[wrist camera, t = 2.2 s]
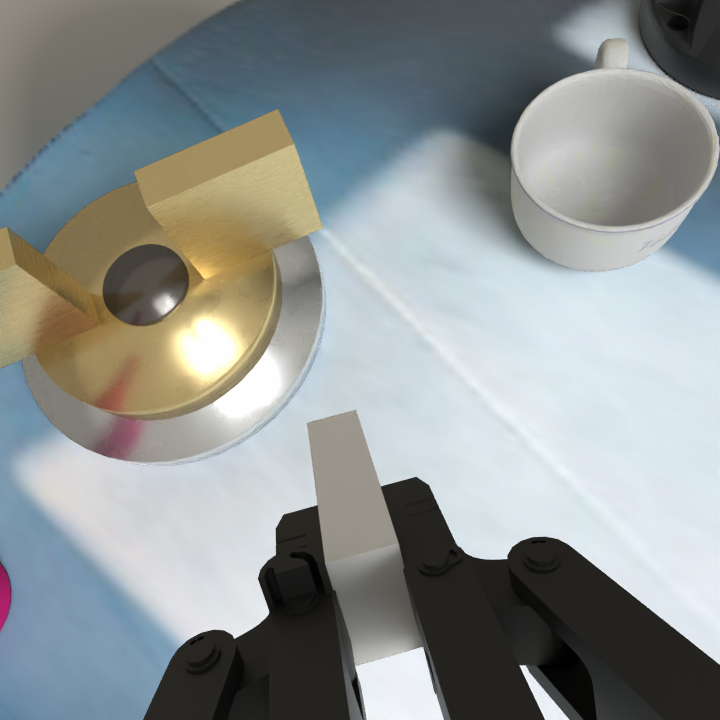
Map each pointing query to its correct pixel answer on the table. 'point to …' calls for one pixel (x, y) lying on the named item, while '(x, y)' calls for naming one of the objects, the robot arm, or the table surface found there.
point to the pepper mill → (4, 596)
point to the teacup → (609, 163)
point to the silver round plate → (229, 413)
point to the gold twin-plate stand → (163, 277)
